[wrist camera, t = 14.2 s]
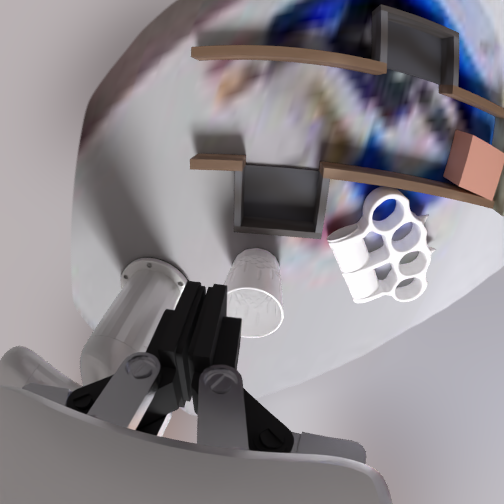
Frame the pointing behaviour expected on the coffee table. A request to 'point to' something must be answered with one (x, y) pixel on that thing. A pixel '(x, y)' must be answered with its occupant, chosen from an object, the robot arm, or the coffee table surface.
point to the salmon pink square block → (474, 164)
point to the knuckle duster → (383, 251)
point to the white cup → (255, 292)
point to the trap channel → (317, 182)
